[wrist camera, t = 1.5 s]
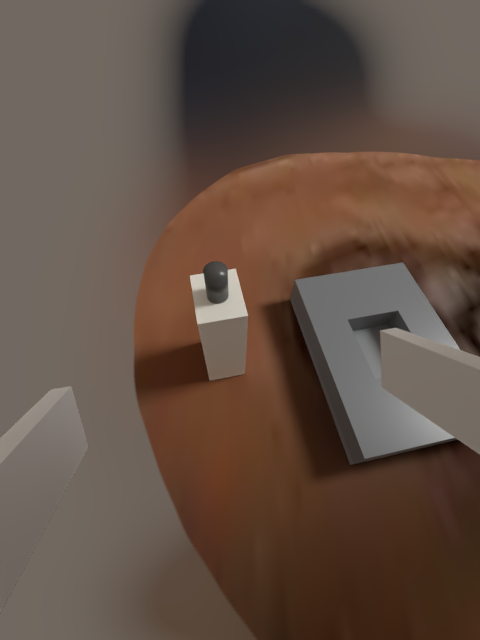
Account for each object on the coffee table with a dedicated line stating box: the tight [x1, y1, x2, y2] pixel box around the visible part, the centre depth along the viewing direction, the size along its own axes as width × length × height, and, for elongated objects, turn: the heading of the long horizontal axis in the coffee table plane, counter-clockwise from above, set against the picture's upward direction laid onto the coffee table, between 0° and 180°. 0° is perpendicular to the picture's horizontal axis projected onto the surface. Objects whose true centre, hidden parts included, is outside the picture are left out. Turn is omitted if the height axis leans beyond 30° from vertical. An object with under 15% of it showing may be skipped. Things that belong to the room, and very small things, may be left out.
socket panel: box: [290, 263, 460, 465], centre depth 34 cm, size 14×20×4 cm
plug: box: [190, 261, 248, 381], centre depth 29 cm, size 4×5×15 cm
